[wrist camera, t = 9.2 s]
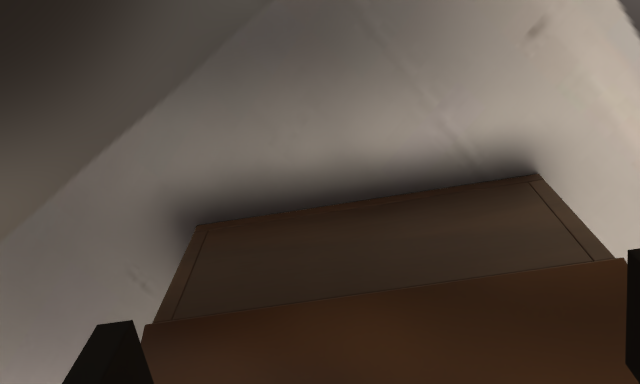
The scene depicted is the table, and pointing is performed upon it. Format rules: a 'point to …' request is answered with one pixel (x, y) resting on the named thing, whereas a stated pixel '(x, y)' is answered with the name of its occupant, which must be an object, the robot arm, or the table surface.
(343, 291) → the chest
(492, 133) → the table surface
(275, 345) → the lid
